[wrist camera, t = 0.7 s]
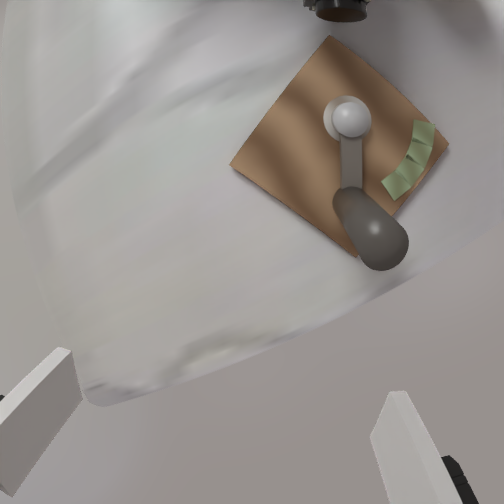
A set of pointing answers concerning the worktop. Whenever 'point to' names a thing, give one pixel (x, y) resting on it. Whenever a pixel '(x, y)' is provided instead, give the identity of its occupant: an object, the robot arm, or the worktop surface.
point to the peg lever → (363, 197)
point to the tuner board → (327, 140)
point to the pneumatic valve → (338, 9)
